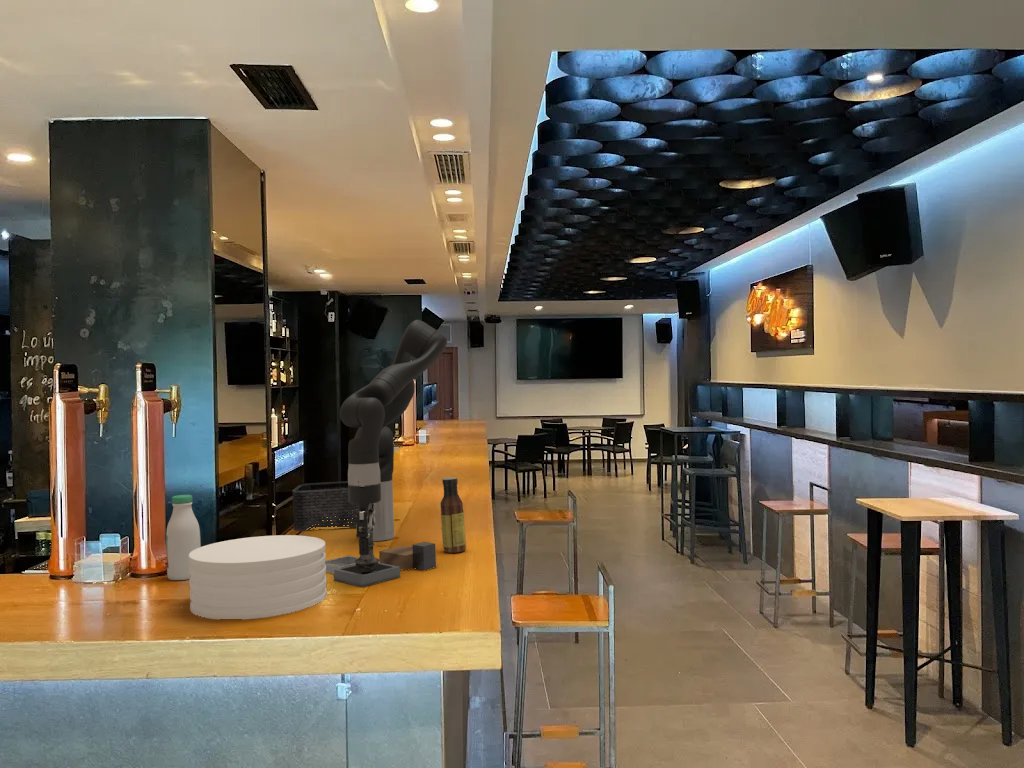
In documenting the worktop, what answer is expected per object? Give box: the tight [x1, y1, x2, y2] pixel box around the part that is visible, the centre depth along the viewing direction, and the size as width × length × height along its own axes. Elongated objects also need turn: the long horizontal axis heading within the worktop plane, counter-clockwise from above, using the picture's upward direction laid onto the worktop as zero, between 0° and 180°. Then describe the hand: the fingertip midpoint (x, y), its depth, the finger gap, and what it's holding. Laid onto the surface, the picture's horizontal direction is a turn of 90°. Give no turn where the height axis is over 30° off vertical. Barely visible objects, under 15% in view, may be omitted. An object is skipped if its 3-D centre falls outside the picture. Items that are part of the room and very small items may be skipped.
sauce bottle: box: [440, 477, 467, 554], centre depth 213 cm, size 6×6×20 cm
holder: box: [324, 554, 360, 575], centre depth 196 cm, size 10×10×2 cm
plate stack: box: [188, 534, 328, 620], centre depth 169 cm, size 28×28×12 cm
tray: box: [333, 561, 401, 588], centre depth 185 cm, size 11×11×2 cm
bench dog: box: [411, 541, 437, 571], centre depth 194 cm, size 4×4×6 cm
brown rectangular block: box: [378, 545, 413, 571], centre depth 199 cm, size 10×8×4 cm
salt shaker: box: [354, 530, 380, 575], centre depth 185 cm, size 6×6×12 cm
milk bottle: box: [165, 494, 202, 581], centre depth 193 cm, size 8×8×20 cm
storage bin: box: [291, 480, 359, 532], centre depth 261 cm, size 29×19×13 cm
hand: (366, 550), depth 185 cm, fingers open, 8 cm apart
